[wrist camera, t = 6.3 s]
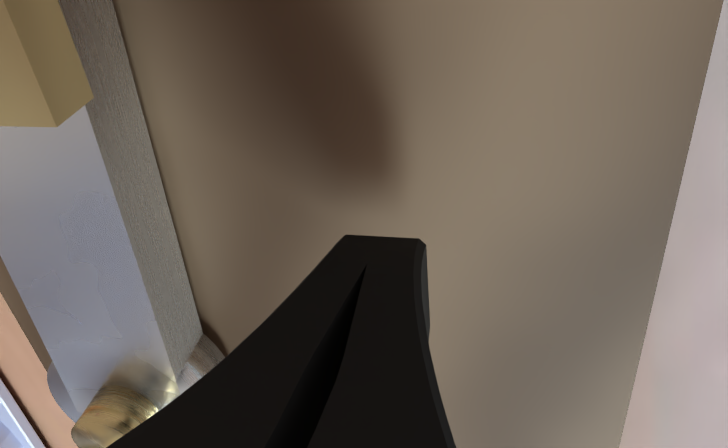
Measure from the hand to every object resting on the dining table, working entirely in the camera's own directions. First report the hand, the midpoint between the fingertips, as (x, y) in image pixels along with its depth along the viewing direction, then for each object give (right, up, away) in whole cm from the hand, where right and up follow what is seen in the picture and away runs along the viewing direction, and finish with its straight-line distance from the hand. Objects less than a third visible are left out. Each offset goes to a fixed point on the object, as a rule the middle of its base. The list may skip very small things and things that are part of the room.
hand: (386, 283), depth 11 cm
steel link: (-6, +1, +2) cm, 6 cm away
